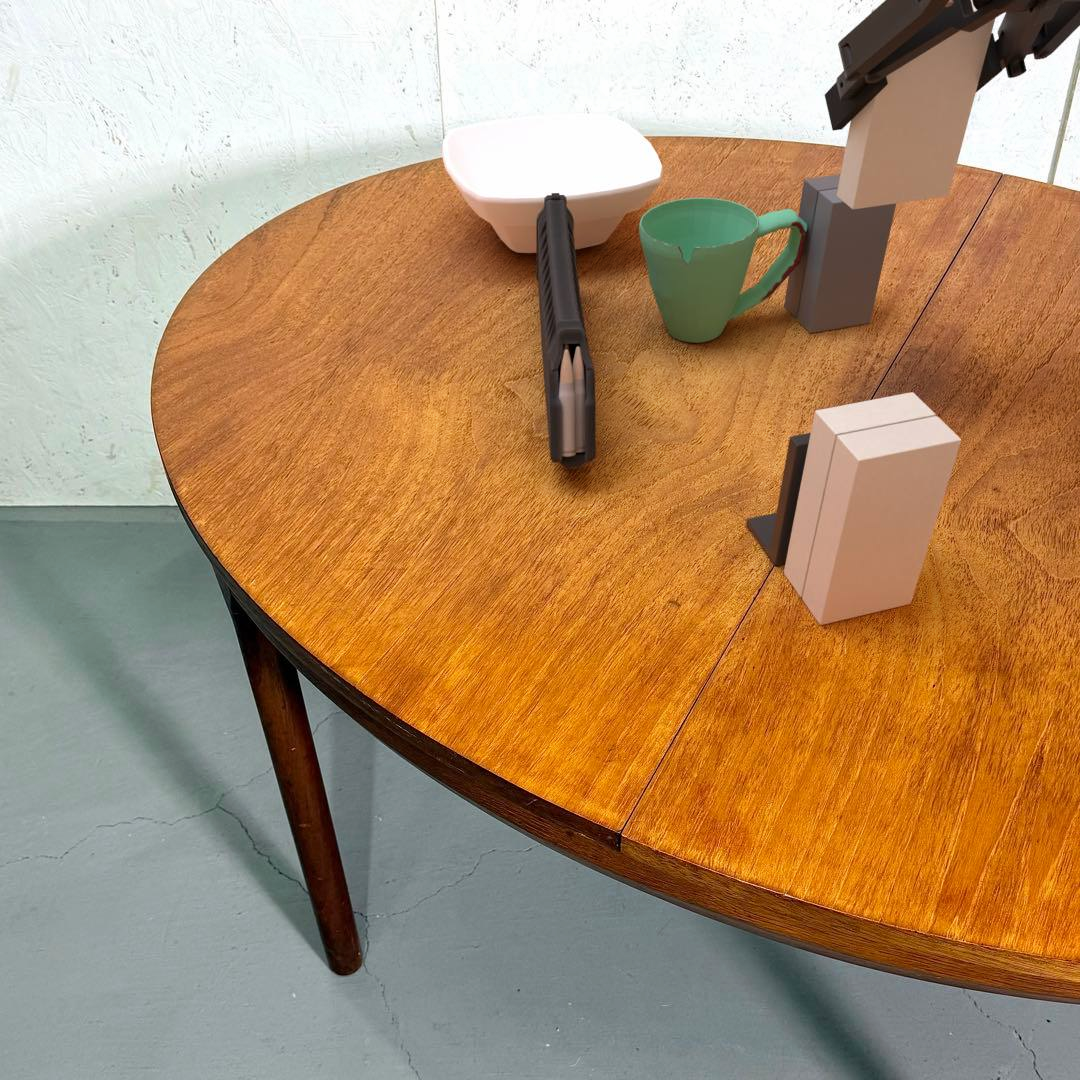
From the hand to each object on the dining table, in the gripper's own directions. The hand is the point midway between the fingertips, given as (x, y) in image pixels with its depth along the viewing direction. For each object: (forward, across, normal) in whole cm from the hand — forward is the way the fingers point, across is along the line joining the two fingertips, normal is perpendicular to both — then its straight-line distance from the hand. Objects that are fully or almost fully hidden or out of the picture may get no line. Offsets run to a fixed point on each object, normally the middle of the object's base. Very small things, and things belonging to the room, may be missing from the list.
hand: (886, 105), depth 78 cm
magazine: (+17, -24, -13) cm, 32 cm away
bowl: (+35, -17, +6) cm, 40 cm away
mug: (+19, -8, -10) cm, 23 cm away
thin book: (+2, 0, -6) cm, 6 cm away
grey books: (+19, +2, -10) cm, 22 cm away
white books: (-2, -14, -32) cm, 35 cm away
